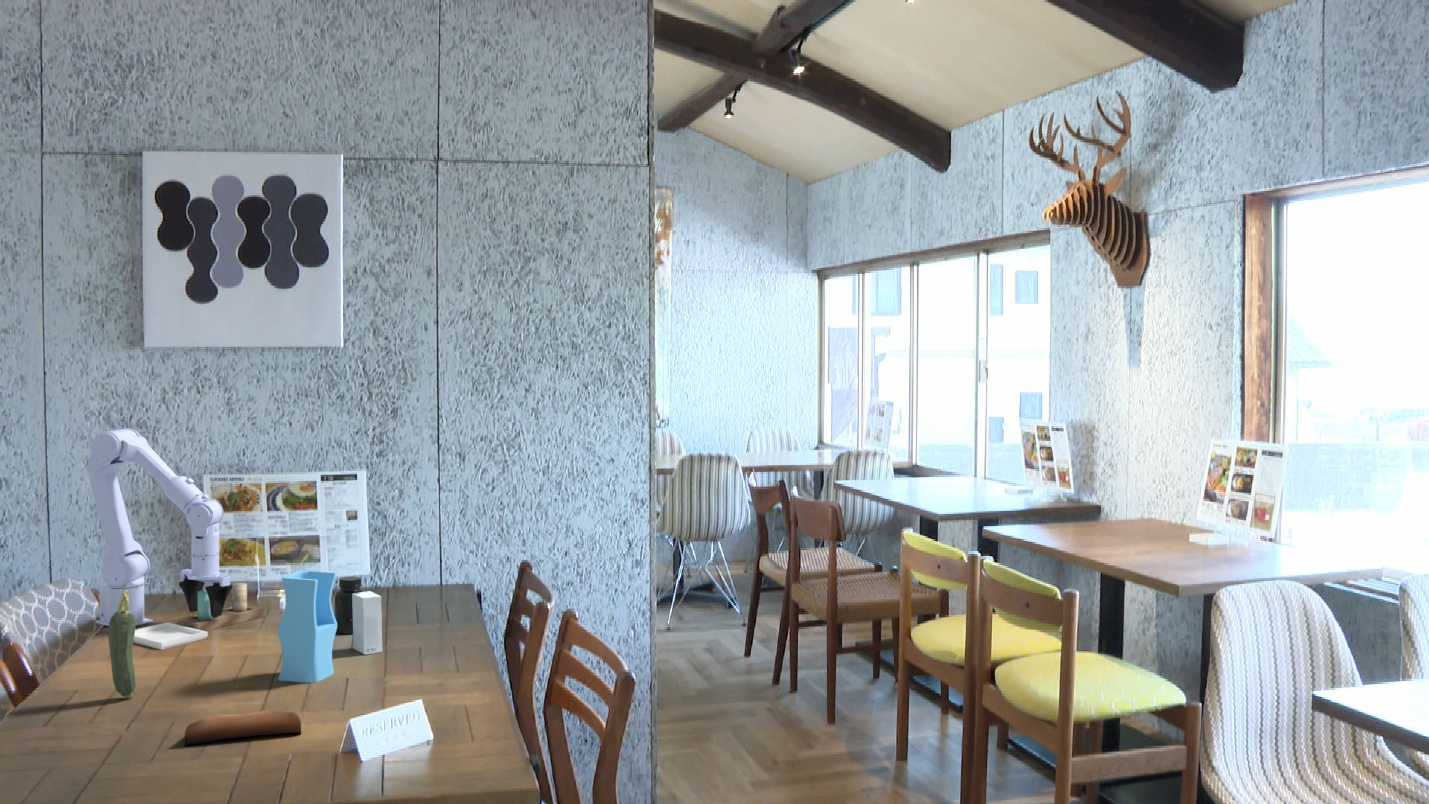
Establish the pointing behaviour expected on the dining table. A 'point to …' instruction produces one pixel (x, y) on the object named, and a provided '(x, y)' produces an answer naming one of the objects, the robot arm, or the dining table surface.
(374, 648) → the skincare box
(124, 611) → the vegetable
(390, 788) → the dining table surface
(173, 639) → the tray
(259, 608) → the rack
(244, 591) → the birch dowel
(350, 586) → the supplement bottle
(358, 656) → the dining table surface
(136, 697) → the dining table surface
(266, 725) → the sunglasses case
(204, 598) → the teal dowel
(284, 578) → the vase
